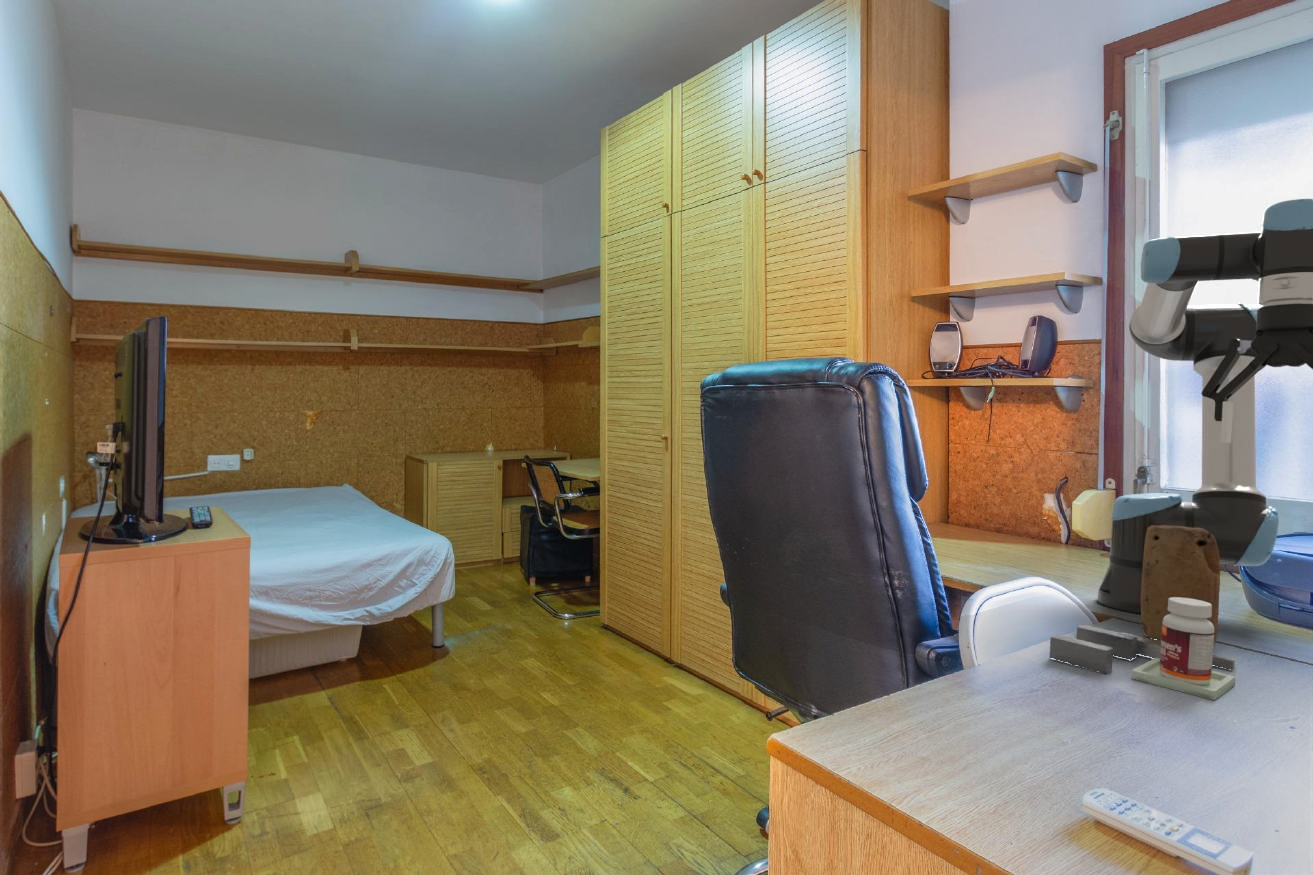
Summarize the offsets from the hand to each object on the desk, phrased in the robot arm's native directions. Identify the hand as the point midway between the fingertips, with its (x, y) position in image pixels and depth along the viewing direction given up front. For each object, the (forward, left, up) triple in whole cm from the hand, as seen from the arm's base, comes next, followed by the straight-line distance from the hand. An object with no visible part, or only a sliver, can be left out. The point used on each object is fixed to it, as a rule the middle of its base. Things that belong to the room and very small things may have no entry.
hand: (1280, 445), depth 114 cm
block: (-5, -13, -35) cm, 38 cm away
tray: (+18, -6, -35) cm, 40 cm away
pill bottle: (+18, -6, -34) cm, 39 cm away
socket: (+18, -18, -35) cm, 43 cm away
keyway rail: (+5, -11, -35) cm, 37 cm away
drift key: (+8, -14, -35) cm, 38 cm away
